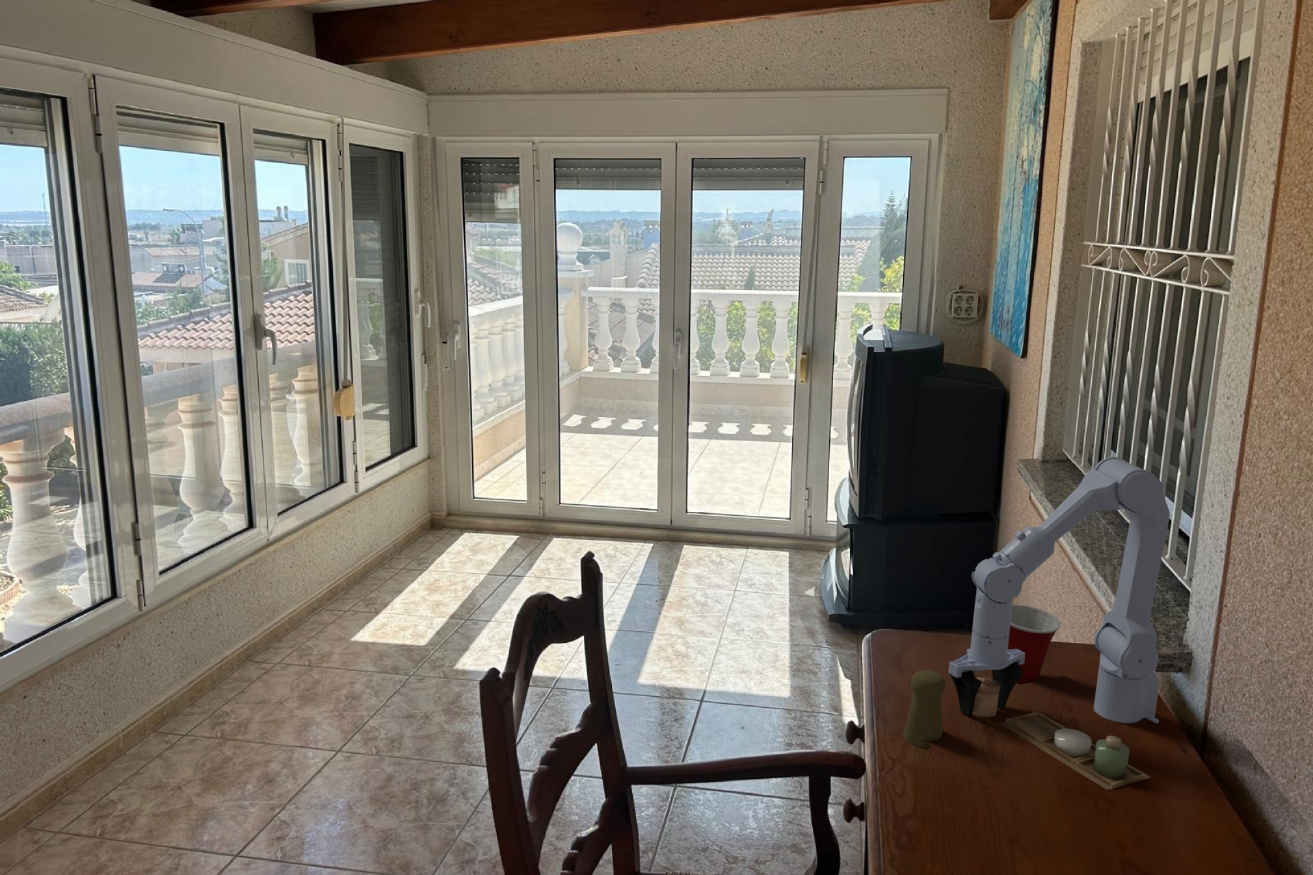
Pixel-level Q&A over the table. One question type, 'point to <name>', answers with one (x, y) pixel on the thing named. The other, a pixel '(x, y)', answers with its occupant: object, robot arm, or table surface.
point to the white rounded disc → (1072, 742)
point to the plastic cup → (1031, 638)
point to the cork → (925, 709)
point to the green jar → (1111, 758)
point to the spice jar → (987, 698)
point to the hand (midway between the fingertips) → (982, 709)
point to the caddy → (1043, 735)
